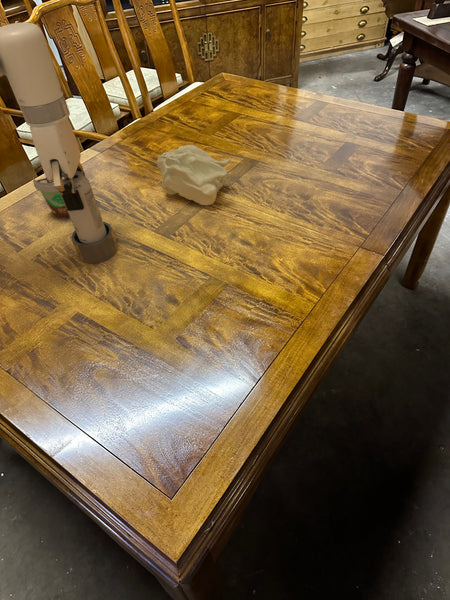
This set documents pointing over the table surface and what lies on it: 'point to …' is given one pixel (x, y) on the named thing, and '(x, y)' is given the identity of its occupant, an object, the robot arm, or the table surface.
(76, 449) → the table surface
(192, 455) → the table surface
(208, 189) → the folded clay sculpture
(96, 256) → the can holder
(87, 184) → the energy drink can
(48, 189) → the food container
